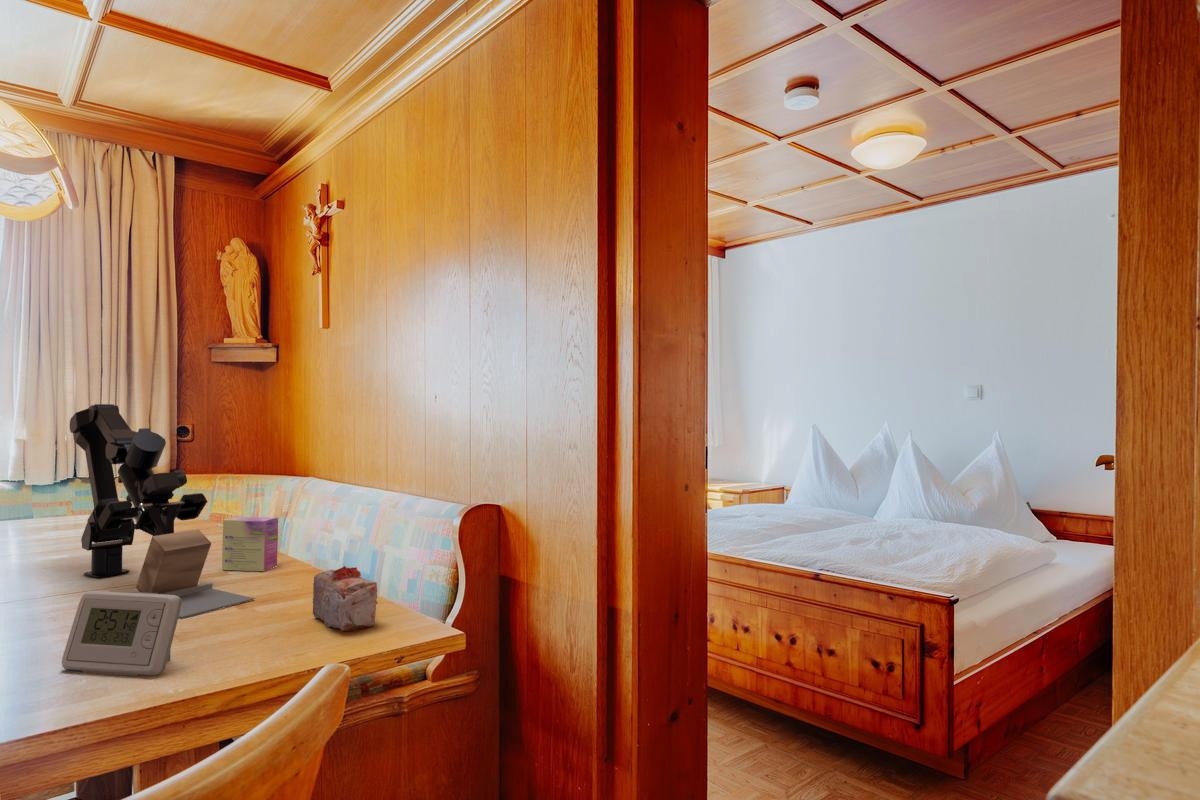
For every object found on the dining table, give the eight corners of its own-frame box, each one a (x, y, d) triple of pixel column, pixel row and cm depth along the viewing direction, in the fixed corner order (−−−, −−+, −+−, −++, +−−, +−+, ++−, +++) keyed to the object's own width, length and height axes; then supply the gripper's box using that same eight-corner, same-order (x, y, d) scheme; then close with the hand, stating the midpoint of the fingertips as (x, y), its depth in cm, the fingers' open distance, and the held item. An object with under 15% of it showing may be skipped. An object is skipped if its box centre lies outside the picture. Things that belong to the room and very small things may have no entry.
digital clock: (53, 671, 100) (55, 597, 100) (116, 651, 109) (117, 582, 109) (134, 687, 95) (136, 608, 95) (193, 664, 103) (194, 592, 103)
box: (278, 566, 166) (278, 516, 166) (264, 572, 160) (264, 520, 160) (236, 565, 167) (237, 515, 167) (221, 570, 161) (222, 519, 161)
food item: (383, 627, 121) (384, 570, 121) (339, 637, 115) (340, 578, 115) (346, 610, 131) (347, 558, 131) (304, 620, 125) (304, 564, 125)
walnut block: (135, 587, 137) (152, 536, 134) (182, 577, 145) (198, 529, 142) (147, 602, 135) (164, 551, 132) (194, 592, 143) (211, 543, 140)
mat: (136, 606, 132) (136, 598, 132) (209, 589, 144) (209, 582, 144) (181, 618, 125) (182, 610, 125) (254, 600, 137) (254, 592, 137)
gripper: (106, 460, 134) (136, 523, 128) (202, 455, 150) (233, 510, 144) (85, 499, 138) (113, 561, 132) (181, 489, 154) (210, 545, 148)
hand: (171, 542), depth 139 cm, fingers closed
